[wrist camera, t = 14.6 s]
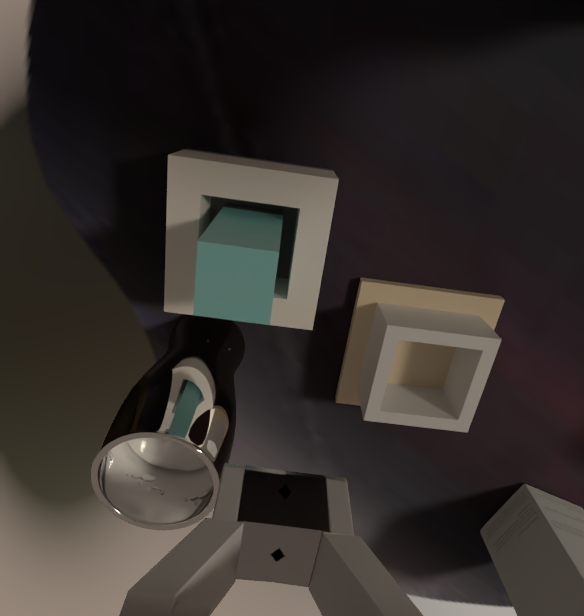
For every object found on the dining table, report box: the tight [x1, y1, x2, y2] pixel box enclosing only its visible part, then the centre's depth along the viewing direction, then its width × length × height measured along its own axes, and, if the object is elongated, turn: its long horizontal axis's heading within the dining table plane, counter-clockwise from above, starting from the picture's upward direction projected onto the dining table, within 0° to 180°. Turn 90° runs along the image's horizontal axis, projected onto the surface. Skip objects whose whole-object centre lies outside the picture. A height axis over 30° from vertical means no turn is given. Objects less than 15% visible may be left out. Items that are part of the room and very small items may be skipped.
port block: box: [164, 148, 339, 330], centre depth 30 cm, size 10×10×5 cm
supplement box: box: [480, 484, 584, 616], centre depth 38 cm, size 7×7×13 cm
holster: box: [335, 278, 505, 432], centre depth 34 cm, size 11×11×5 cm
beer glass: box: [91, 315, 245, 530], centre depth 30 cm, size 7×7×15 cm
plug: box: [193, 203, 284, 325], centre depth 27 cm, size 4×4×10 cm
